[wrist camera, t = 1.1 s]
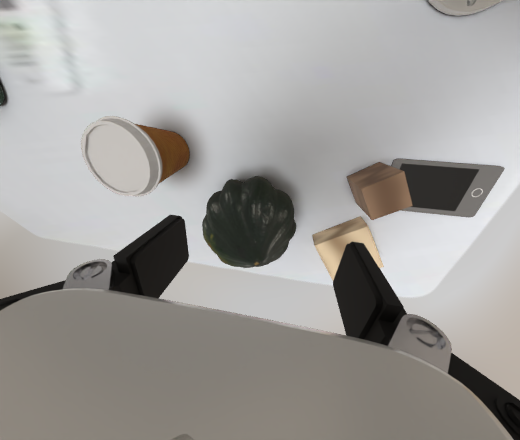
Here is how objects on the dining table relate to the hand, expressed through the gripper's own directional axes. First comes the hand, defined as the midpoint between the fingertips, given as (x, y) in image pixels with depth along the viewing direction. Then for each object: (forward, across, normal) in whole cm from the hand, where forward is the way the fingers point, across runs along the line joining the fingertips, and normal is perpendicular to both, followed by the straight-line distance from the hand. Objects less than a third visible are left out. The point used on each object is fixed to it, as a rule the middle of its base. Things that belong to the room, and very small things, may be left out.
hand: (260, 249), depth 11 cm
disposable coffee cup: (+23, +19, -1) cm, 30 cm away
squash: (+23, +4, +8) cm, 25 cm away
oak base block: (+24, -14, +13) cm, 30 cm away
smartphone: (+24, -24, 0) cm, 34 cm away
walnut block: (+23, -14, +1) cm, 27 cm away
